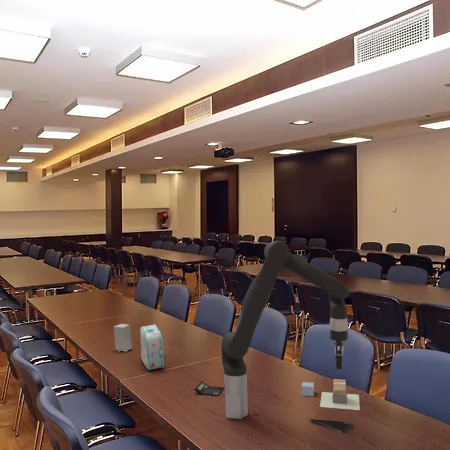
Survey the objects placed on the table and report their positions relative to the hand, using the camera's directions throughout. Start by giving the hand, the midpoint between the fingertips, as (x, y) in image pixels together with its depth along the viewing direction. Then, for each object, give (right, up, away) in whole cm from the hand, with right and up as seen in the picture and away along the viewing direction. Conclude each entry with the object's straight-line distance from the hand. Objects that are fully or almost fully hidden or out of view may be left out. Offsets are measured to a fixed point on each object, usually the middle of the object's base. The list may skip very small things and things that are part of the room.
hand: (339, 365), depth 196 cm
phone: (-8, -17, -19) cm, 27 cm away
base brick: (0, -15, +1) cm, 15 cm away
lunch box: (-89, -17, +57) cm, 107 cm away
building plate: (0, -16, +1) cm, 16 cm away
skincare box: (-112, -17, +85) cm, 141 cm away
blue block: (-12, -16, +9) cm, 22 cm away
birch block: (0, -12, 0) cm, 12 cm away
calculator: (-56, -18, +17) cm, 61 cm away
